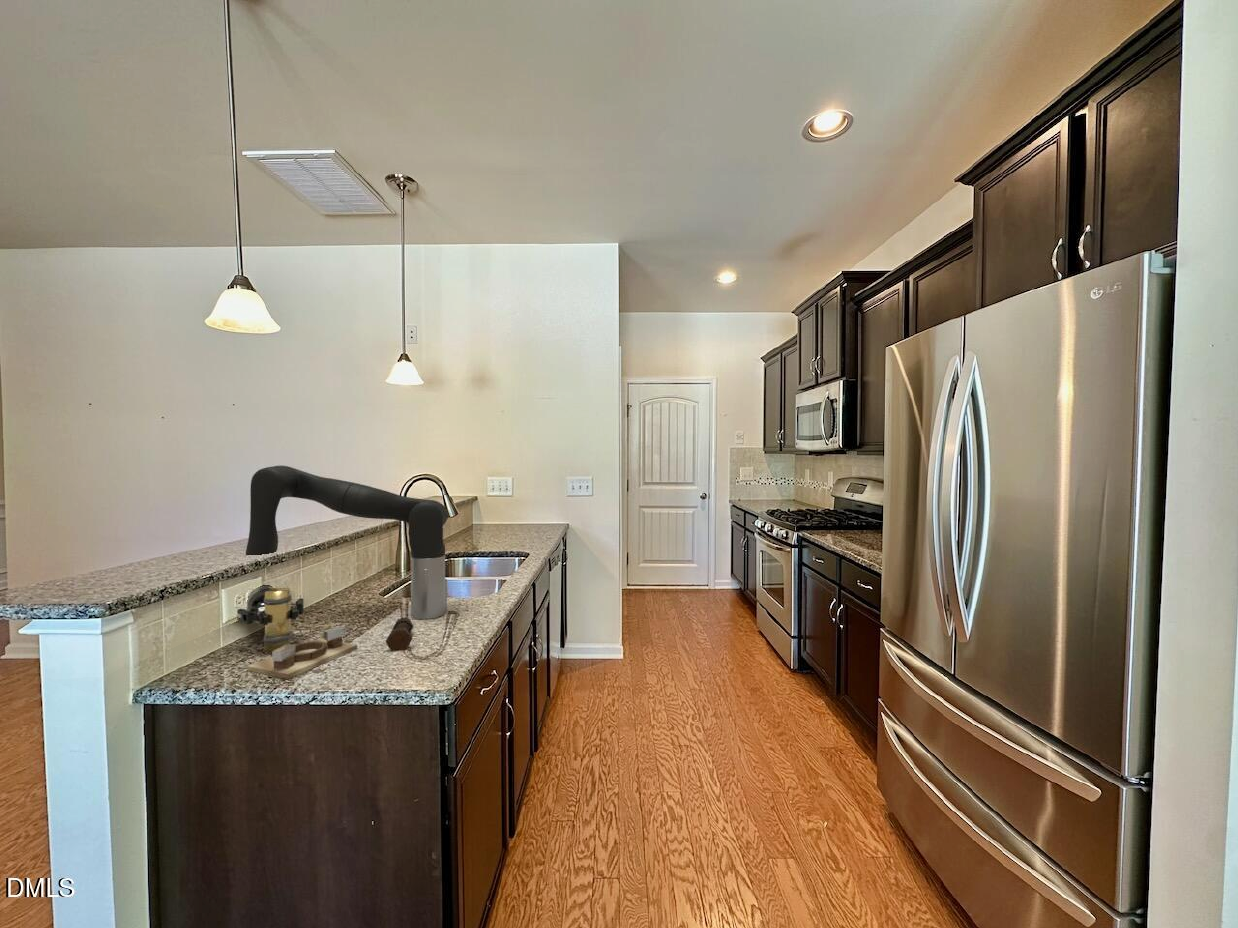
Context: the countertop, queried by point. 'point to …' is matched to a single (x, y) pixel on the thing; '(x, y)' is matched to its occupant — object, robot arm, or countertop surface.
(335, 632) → the pair of grey blocks
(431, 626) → the countertop surface
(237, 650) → the countertop surface
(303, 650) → the coupling base
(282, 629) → the cylinder
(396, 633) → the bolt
